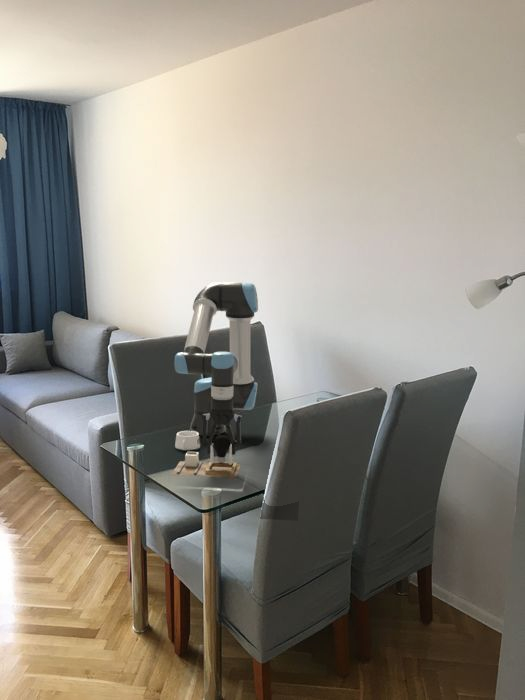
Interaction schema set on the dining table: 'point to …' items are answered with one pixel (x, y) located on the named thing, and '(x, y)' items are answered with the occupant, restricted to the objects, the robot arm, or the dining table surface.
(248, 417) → the dining table surface
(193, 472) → the wooden tray
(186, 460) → the white block
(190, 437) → the mug
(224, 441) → the light bulb
